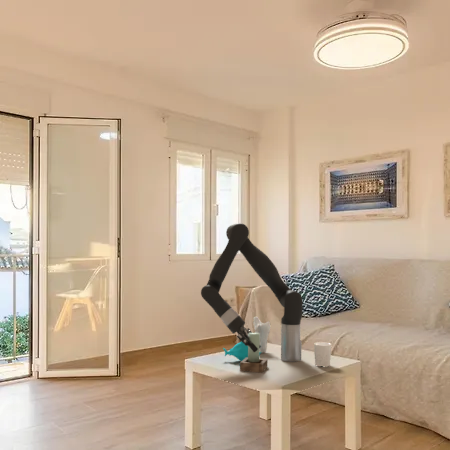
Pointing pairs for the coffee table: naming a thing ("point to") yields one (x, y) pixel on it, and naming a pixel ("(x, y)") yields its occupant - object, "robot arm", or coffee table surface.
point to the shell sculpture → (262, 332)
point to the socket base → (253, 365)
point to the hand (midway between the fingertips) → (257, 349)
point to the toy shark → (239, 351)
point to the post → (256, 341)
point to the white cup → (322, 353)
